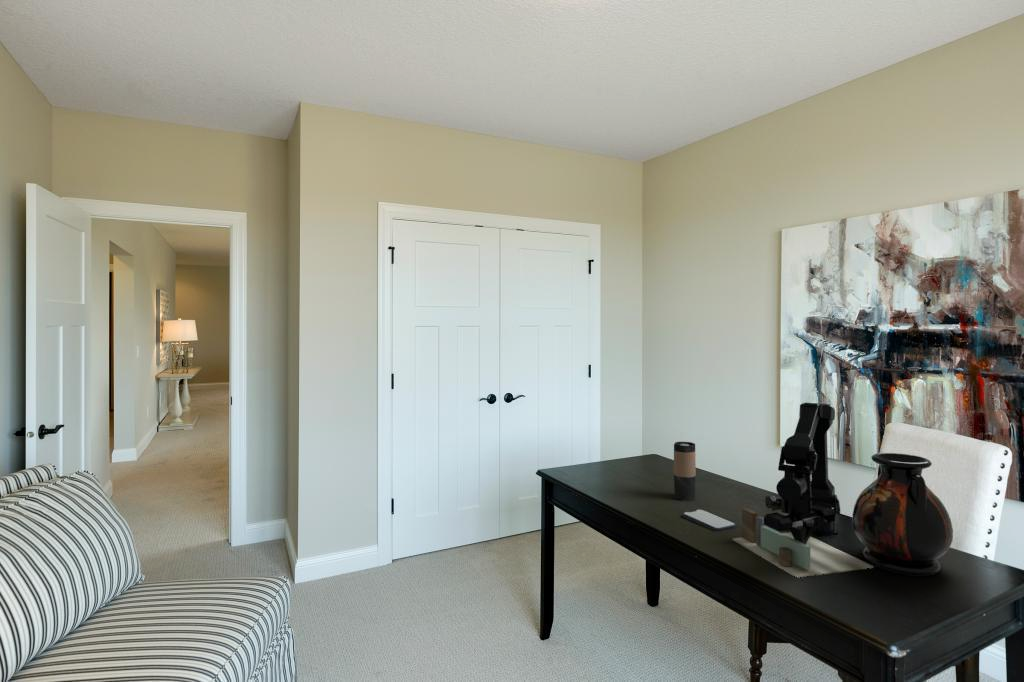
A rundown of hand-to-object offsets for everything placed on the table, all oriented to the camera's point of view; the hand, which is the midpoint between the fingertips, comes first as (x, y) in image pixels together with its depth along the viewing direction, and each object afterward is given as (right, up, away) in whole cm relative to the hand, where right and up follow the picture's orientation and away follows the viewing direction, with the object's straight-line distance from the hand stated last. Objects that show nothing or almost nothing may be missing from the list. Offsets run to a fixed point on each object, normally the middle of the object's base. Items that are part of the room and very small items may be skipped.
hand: (800, 549), depth 148 cm
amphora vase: (+25, -4, -1) cm, 26 cm away
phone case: (-13, -4, +32) cm, 35 cm away
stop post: (-5, -4, -2) cm, 6 cm away
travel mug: (-13, -3, +57) cm, 59 cm away
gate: (-3, -3, +3) cm, 5 cm away
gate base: (+3, -3, +7) cm, 8 cm away
